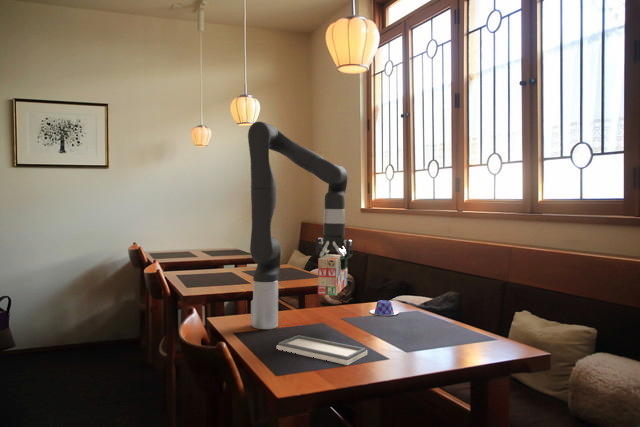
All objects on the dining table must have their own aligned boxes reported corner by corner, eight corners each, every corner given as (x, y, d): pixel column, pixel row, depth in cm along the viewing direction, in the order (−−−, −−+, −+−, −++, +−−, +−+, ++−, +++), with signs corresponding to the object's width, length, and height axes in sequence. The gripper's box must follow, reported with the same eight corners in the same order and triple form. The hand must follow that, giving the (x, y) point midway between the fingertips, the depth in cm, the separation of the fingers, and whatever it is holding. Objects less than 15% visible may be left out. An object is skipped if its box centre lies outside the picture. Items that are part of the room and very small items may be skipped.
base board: (276, 349, 156) (276, 342, 156) (299, 340, 166) (299, 334, 165) (347, 365, 141) (347, 358, 141) (367, 354, 151) (367, 347, 151)
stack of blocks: (331, 284, 185) (331, 251, 185) (347, 285, 184) (348, 252, 183) (317, 294, 164) (318, 257, 164) (335, 295, 163) (336, 258, 163)
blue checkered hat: (363, 313, 207) (364, 301, 207) (382, 309, 215) (382, 297, 215) (386, 318, 198) (386, 305, 198) (404, 314, 207) (404, 301, 207)
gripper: (311, 221, 174) (310, 267, 174) (346, 223, 166) (345, 271, 166) (323, 220, 180) (322, 265, 180) (357, 222, 172) (356, 269, 172)
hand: (333, 268), depth 173 cm, fingers closed on stack of blocks, 7 cm apart
